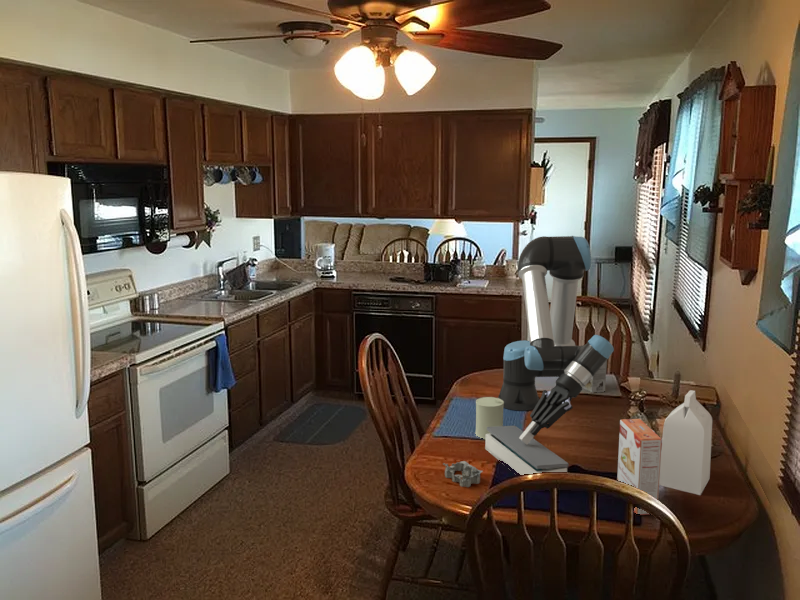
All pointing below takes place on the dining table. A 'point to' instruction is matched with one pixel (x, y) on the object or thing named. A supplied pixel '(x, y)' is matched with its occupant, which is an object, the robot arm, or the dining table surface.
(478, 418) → the can
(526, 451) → the cover
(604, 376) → the coffee box
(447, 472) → the grey lumpy piece
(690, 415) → the milk
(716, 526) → the dining table surface
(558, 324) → the robot arm
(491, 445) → the hinged pencil box
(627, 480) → the cracker box
